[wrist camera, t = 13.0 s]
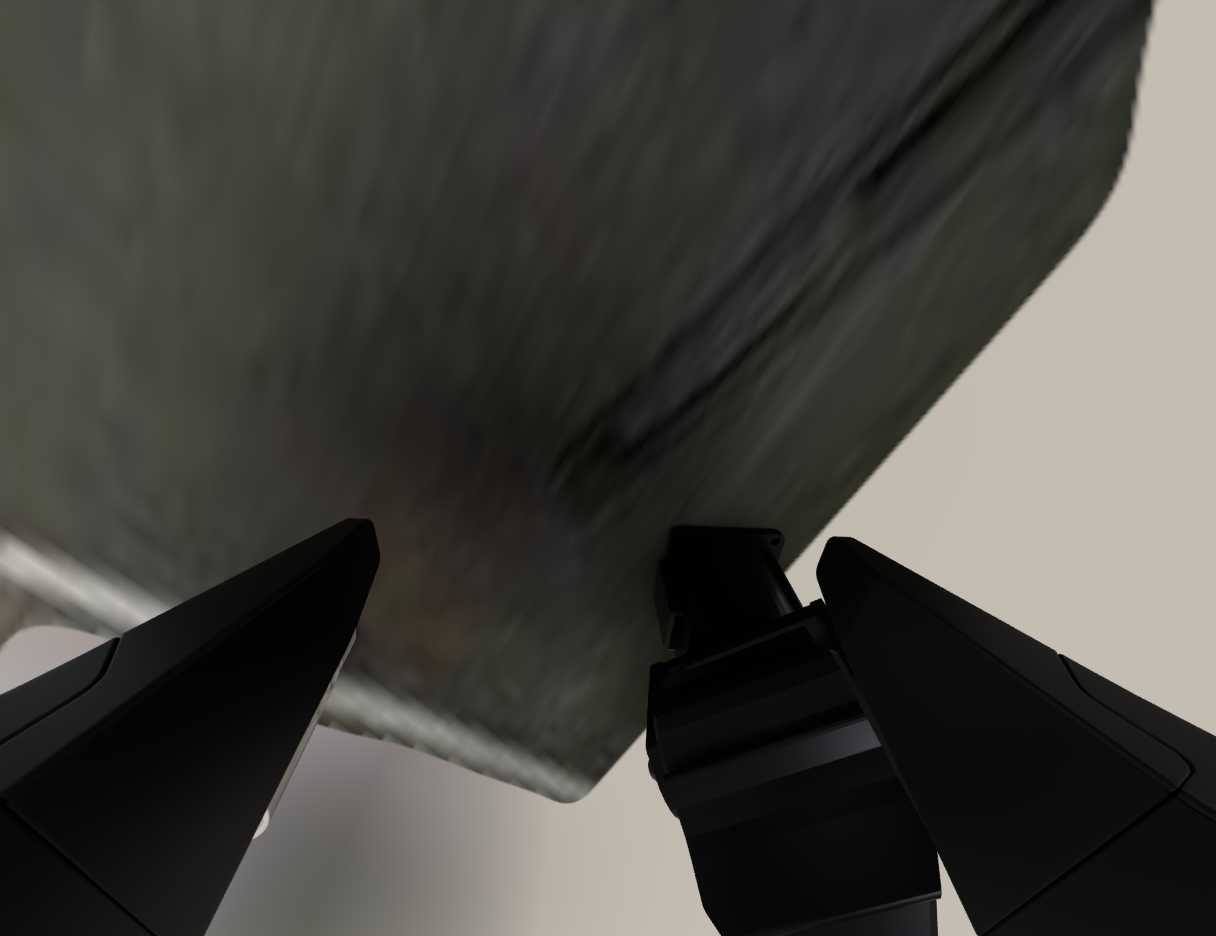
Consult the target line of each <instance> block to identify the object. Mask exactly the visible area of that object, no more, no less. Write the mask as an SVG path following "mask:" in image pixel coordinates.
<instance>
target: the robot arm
mask: <svg viewBox="0 0 1216 936" xmlns="http://www.w3.org/2000/svg"><path fill="white" fill-rule="evenodd" d="M680 534H681V535H682V536H681V537H676V536H677V535H680ZM774 538H777V539H776V540H774V541H772V540H773V539H774ZM784 540H785V539H784V537H783V535H782V534H781V532H779V531H777V530H757V529H731V528H705V527H675V528H673V529H672V530H671V531H670V534H669V539H668V545H667V550H666V556H665V559H662V560H661V561H660V562H659V565H658V570H657V576H656V582H655V588H654V598H655V603H656V609H657V615H658V620H659V626H660V631H661V637H662V642H663V646H664V647H665V648H666V650H673V651H675V656H676V658H674V659H671V660H669V661H666V662H664V663H662V662H658V663H655V664H653V665H651V666H650V681H649V692H648V711H647V730H646V751H647V755H648V757H649V762H648V768H649V772H650V775H651V777H652V778H653V779H654V780H656V781H657V783H658V786H659V789H660V791H661V793H662V796H663V798H664V800H665V802H666V804H667V806H668V807H669V809H670V811H671V812H672V813H673V815H674V816H675V817H676V818H678V819H680V822H681V826H682V829H683V832H684V835H685V838H686V842H687V845H688V849H689V853H690V857H691V860H692V864H693V869H694V873H695V877H696V881H697V885H698V889H699V893H700V897H701V901H702V905H703V908H704V910H705V912H706V914H707V915H708V917H709V918H710V920H711V921H712V923H713V924H714V926H715V927H716V929H717V930H718V932H719V933H720V934H721V936H938V926H937V903H936V899H940V898H941V895H942V892H941V881H940V872H939V863H938V854H939V856H940V858H941V860H942V862H943V865H944V867H945V869H946V871H947V873H948V875H949V877H950V879H951V882H952V884H953V886H954V888H955V890H956V892H957V894H958V896H959V898H960V900H961V903H962V905H963V907H964V909H965V911H966V913H967V915H968V917H969V920H970V922H971V924H972V926H973V928H974V930H975V932H976V934H977V935H978V936H1216V736H1214V735H1212V734H1210V733H1208V732H1207V731H1204V730H1203V729H1201V728H1199V727H1196V726H1195V725H1193V724H1191V723H1189V722H1187V721H1185V720H1183V719H1181V718H1179V717H1177V716H1175V715H1173V714H1172V713H1170V712H1168V711H1166V710H1164V709H1162V708H1160V707H1158V706H1156V705H1154V704H1152V703H1151V702H1149V701H1147V700H1145V699H1143V698H1141V697H1139V696H1137V695H1135V694H1133V693H1131V692H1129V691H1128V690H1126V689H1124V688H1122V687H1120V686H1119V685H1117V684H1115V683H1113V682H1111V681H1109V680H1108V679H1106V678H1104V677H1102V676H1100V675H1098V674H1097V673H1094V672H1093V671H1091V670H1089V669H1087V668H1086V667H1084V666H1082V665H1080V664H1078V663H1077V662H1075V661H1073V660H1071V659H1070V658H1068V657H1066V656H1064V655H1062V654H1057V652H1056V651H1055V650H1053V649H1051V648H1050V647H1048V646H1046V645H1044V644H1042V643H1041V642H1039V641H1037V640H1035V639H1034V638H1032V637H1030V636H1028V635H1026V634H1024V633H1023V632H1021V631H1019V630H1017V629H1015V628H1014V627H1012V626H1010V625H1008V624H1007V623H1005V622H1003V621H1001V620H999V619H998V618H996V617H994V616H992V615H991V614H989V613H987V612H985V611H983V610H981V609H980V608H978V607H976V606H974V605H973V604H971V603H969V602H967V601H965V600H964V599H962V598H960V597H958V596H956V595H955V594H953V593H950V592H949V591H947V590H946V589H944V588H942V587H940V586H939V585H937V584H935V583H933V582H931V581H930V580H928V579H926V578H924V577H922V576H921V575H919V574H917V573H915V572H913V571H912V570H909V569H908V568H906V567H904V566H903V565H901V564H899V563H897V562H896V561H894V560H892V559H890V558H888V557H887V556H885V555H883V554H881V553H879V552H878V551H876V550H874V549H872V548H870V547H869V546H867V545H865V544H863V543H861V542H860V541H858V540H856V539H854V538H851V537H836V536H834V537H831V538H829V540H828V541H827V543H826V545H825V548H824V550H823V553H822V555H821V558H820V560H819V563H818V565H817V570H816V576H817V580H818V583H819V586H820V589H821V592H822V595H823V597H824V600H825V603H826V604H825V603H824V602H823V600H822V599H821V598H820V599H818V600H815V601H812V602H810V605H809V606H806V607H803V606H802V604H801V602H800V600H799V599H798V597H797V595H796V593H795V591H794V590H793V588H792V586H791V584H790V583H789V581H788V579H787V577H786V575H785V574H784V572H783V570H782V568H781V567H780V565H779V563H778V559H779V556H780V553H781V550H782V547H783V544H784ZM379 563H380V551H379V546H378V541H377V537H376V532H375V528H374V525H373V523H372V521H371V520H369V519H358V518H348V519H345V520H343V521H341V522H339V523H337V524H335V525H333V526H331V527H329V528H327V529H325V530H323V531H321V532H320V533H318V534H316V535H314V536H312V537H310V538H308V539H306V540H304V541H302V542H300V543H298V544H296V545H294V546H292V547H290V548H288V549H286V550H285V551H283V552H281V553H279V554H277V555H275V556H273V557H271V558H269V559H267V560H265V561H263V562H261V563H259V564H257V565H255V566H253V567H251V568H250V569H248V570H246V571H244V572H242V573H240V574H238V575H236V576H234V577H232V578H230V579H228V580H226V581H224V582H222V583H220V584H218V585H217V586H215V587H213V588H211V589H209V590H207V591H205V592H203V593H201V594H199V595H197V596H195V597H193V598H191V599H189V600H187V601H185V602H183V603H182V604H180V605H178V606H176V607H174V608H172V609H170V610H168V611H166V612H164V613H162V614H160V615H158V616H156V617H154V618H152V619H150V620H148V621H147V622H145V623H143V624H141V625H139V626H137V627H135V628H133V629H131V630H129V631H127V632H125V633H123V634H122V636H121V638H118V637H116V638H113V639H111V640H109V641H107V642H106V643H104V644H102V645H100V646H98V647H96V648H94V649H92V650H90V651H88V652H87V653H84V654H82V655H81V656H79V657H76V658H74V659H72V660H71V661H68V662H66V663H64V664H62V665H61V666H58V667H57V668H54V669H53V670H50V671H48V672H46V673H44V674H42V675H40V676H38V677H36V678H34V679H33V680H30V681H29V682H26V683H24V684H22V685H20V686H18V687H16V688H14V689H12V690H10V691H7V692H5V693H3V694H1V695H0V936H204V935H205V933H206V931H207V929H208V927H209V925H210V923H211V921H212V919H213V917H214V915H215V913H216V911H217V909H218V907H219V905H220V903H221V901H222V899H223V897H224V895H225V893H226V891H227V889H228V887H229V885H230V883H231V881H232V879H233V877H234V875H235V873H236V871H237V869H238V867H239V865H240V863H241V861H242V859H243V857H244V854H245V853H246V851H247V849H248V847H249V845H250V842H251V841H252V839H253V837H254V835H255V833H256V831H257V829H258V827H259V825H260V823H261V821H262V819H263V817H264V815H265V813H266V811H267V809H268V806H269V804H270V802H271V800H272V798H273V796H274V794H275V792H276V790H277V788H278V786H279V784H280V782H281V780H282V778H283V776H284V774H285V772H286V770H287V768H288V766H289V764H290V762H291V760H292V758H293V756H294V754H295V752H296V750H297V748H298V746H299V744H300V742H301V740H302V738H303V736H304V734H305V732H306V730H307V728H308V726H309V724H310V722H311V720H312V718H313V716H314V714H315V712H316V710H317V708H318V706H319V704H320V702H321V700H322V698H323V696H324V694H325V692H326V690H327V688H328V686H329V684H330V682H331V680H332V678H333V676H334V674H335V672H336V670H337V668H338V666H339V664H340V662H341V660H342V658H343V656H344V654H345V652H346V650H347V648H348V646H349V643H350V641H351V639H352V637H353V634H354V632H355V629H356V627H357V624H358V621H359V619H360V616H361V613H362V610H363V608H364V605H365V602H366V599H367V597H368V594H369V591H370V588H371V586H372V583H373V580H374V577H375V575H376V572H377V569H378V566H379ZM937 852H938V854H937Z"/></svg>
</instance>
